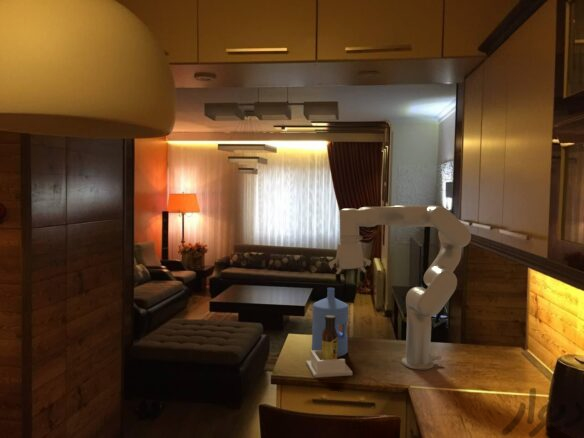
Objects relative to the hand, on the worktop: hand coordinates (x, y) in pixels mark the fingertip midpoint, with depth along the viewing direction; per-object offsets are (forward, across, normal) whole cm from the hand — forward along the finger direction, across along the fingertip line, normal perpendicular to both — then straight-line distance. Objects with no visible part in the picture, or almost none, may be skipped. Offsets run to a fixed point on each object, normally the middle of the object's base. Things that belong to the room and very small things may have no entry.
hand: (350, 282), depth 182 cm
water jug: (+34, +4, -17) cm, 38 cm away
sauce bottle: (+32, +10, +2) cm, 34 cm away
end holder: (+33, +10, +2) cm, 35 cm away
